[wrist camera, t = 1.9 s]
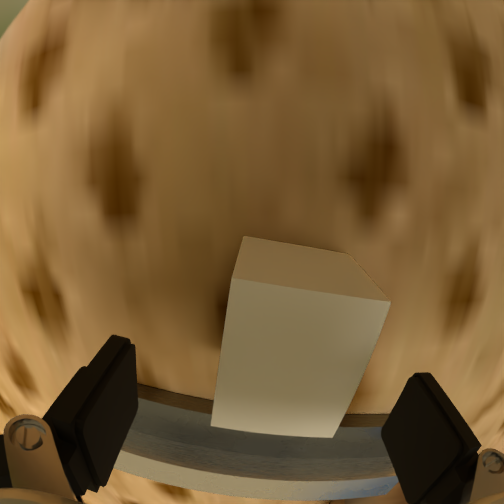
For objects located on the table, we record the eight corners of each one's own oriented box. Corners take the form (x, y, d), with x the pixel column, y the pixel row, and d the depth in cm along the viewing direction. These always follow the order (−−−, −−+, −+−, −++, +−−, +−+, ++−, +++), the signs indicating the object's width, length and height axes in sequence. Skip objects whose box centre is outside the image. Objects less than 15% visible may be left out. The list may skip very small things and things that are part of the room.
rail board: (424, 412, 17) (440, 442, 14) (370, 485, 20) (377, 511, 17) (103, 373, 17) (81, 404, 14) (119, 457, 19) (108, 484, 16)
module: (349, 253, 14) (391, 302, 9) (316, 364, 16) (332, 437, 11) (243, 235, 14) (230, 277, 9) (224, 352, 16) (210, 425, 11)
